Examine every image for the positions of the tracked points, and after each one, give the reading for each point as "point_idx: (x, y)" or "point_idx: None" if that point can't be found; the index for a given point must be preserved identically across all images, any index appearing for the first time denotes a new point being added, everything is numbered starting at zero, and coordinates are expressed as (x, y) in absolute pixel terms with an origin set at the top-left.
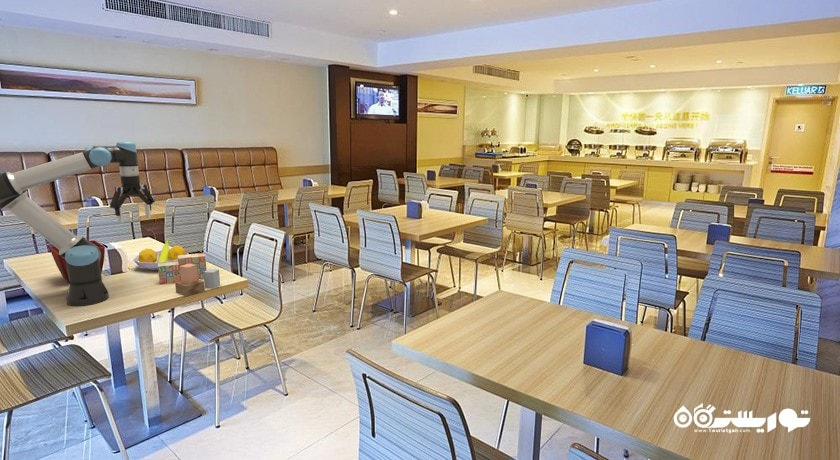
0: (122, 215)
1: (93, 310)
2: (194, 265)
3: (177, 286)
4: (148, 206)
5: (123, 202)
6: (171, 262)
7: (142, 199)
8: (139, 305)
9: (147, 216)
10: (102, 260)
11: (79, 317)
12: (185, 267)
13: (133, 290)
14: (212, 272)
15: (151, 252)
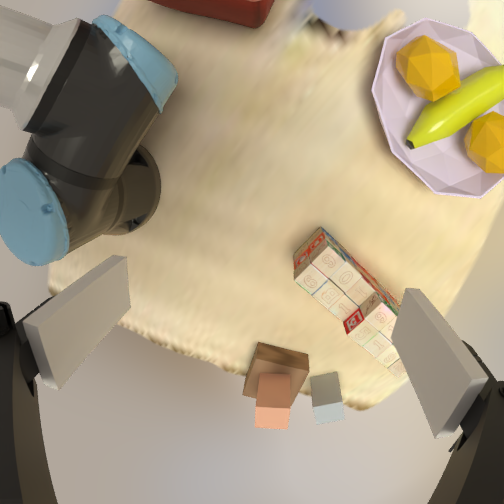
0: (97, 344)
1: (92, 264)
2: (280, 428)
3: (253, 361)
4: (430, 423)
5: (45, 456)
6: (356, 281)
7: (461, 470)
8: (156, 330)
9: (403, 319)
10: (255, 19)
11: (66, 272)
12: (255, 421)
13: (219, 228)
14: (316, 422)
15: (441, 85)
